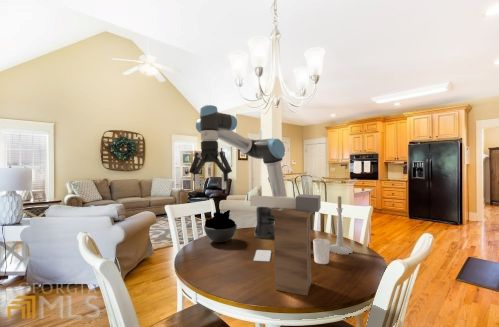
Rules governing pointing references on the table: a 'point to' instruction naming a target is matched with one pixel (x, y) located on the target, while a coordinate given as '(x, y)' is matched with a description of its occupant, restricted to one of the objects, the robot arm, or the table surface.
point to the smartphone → (262, 256)
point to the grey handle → (289, 202)
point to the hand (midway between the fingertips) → (210, 188)
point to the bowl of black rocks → (220, 227)
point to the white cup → (321, 251)
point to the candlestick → (340, 235)
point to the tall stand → (292, 250)
